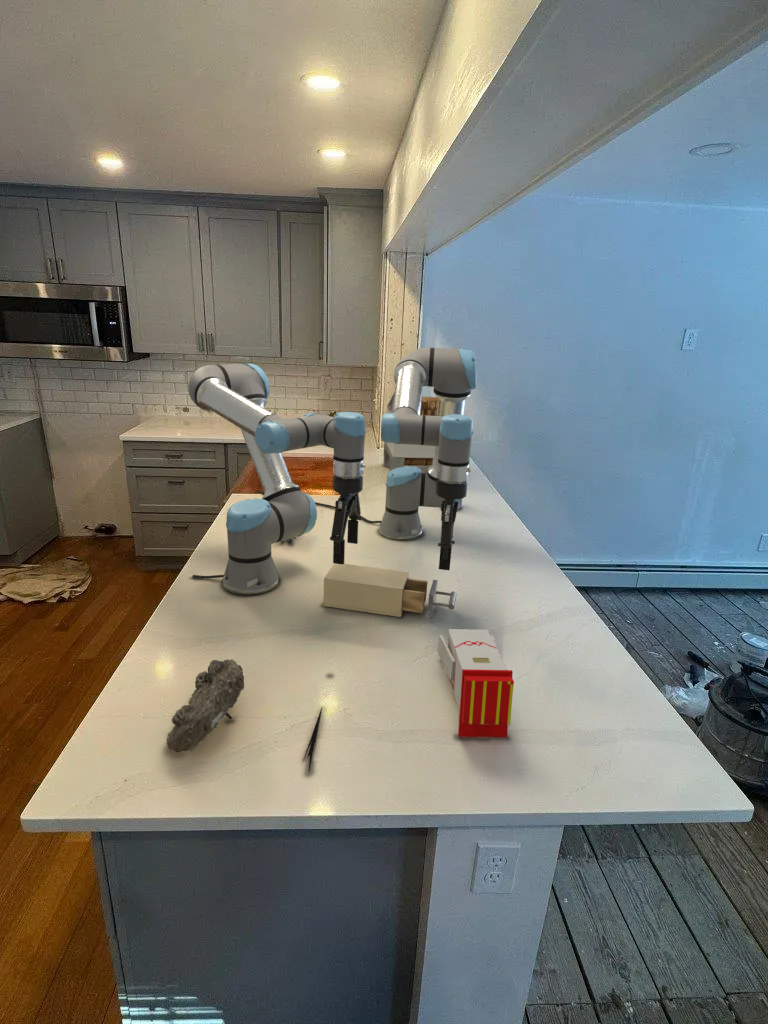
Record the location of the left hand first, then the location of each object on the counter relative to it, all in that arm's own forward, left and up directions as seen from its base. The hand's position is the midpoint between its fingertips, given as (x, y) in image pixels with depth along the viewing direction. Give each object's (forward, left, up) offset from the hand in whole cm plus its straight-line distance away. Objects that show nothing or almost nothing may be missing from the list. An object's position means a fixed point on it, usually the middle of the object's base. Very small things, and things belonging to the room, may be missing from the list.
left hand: (345, 552), depth 149 cm
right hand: (+26, +1, -1) cm, 26 cm away
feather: (+11, -47, -14) cm, 50 cm away
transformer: (-7, +131, -14) cm, 132 cm away
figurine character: (-32, +34, -14) cm, 49 cm away
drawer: (+17, +1, -13) cm, 21 cm away
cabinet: (+6, 0, -14) cm, 15 cm away
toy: (+38, -29, -14) cm, 49 cm away
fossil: (-9, -52, -14) cm, 55 cm away
